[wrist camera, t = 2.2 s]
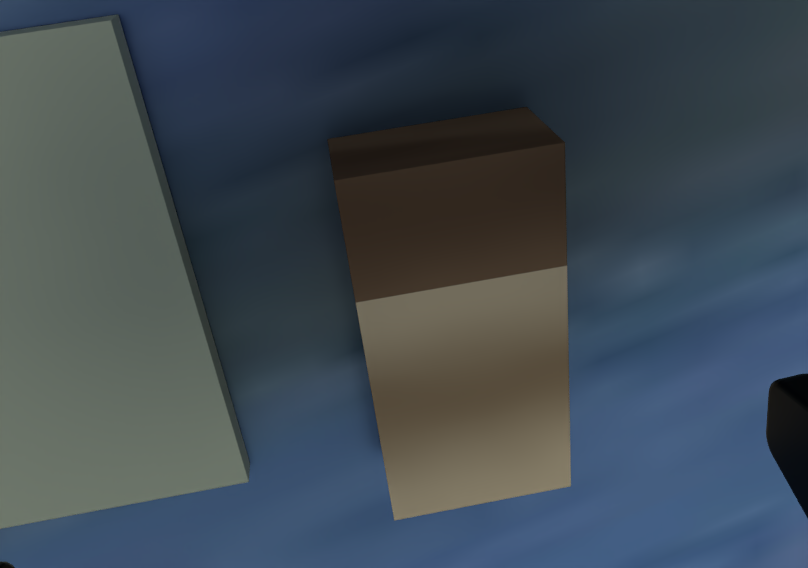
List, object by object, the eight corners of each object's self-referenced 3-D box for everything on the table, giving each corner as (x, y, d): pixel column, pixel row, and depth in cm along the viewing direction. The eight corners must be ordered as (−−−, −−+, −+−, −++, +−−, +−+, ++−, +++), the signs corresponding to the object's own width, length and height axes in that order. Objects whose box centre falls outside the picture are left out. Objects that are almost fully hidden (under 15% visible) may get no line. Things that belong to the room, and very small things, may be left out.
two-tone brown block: (539, 419, 23) (570, 486, 21) (382, 448, 23) (394, 520, 21) (525, 106, 19) (565, 142, 16) (327, 137, 18) (333, 180, 16)
